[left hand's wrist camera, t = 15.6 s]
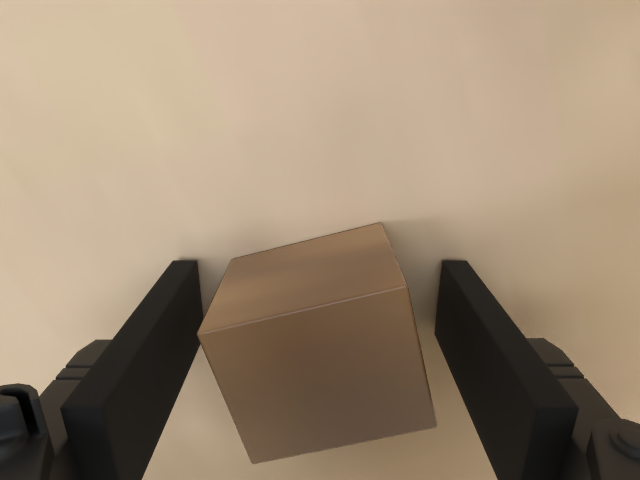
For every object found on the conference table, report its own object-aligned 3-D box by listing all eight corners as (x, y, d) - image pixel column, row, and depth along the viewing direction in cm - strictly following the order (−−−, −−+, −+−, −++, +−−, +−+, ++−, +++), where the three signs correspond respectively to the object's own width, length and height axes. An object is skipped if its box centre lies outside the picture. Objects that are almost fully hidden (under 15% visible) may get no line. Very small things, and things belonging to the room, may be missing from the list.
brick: (269, 363, 16) (251, 465, 12) (230, 258, 14) (195, 333, 10) (406, 333, 15) (438, 428, 11) (381, 221, 14) (407, 285, 10)
